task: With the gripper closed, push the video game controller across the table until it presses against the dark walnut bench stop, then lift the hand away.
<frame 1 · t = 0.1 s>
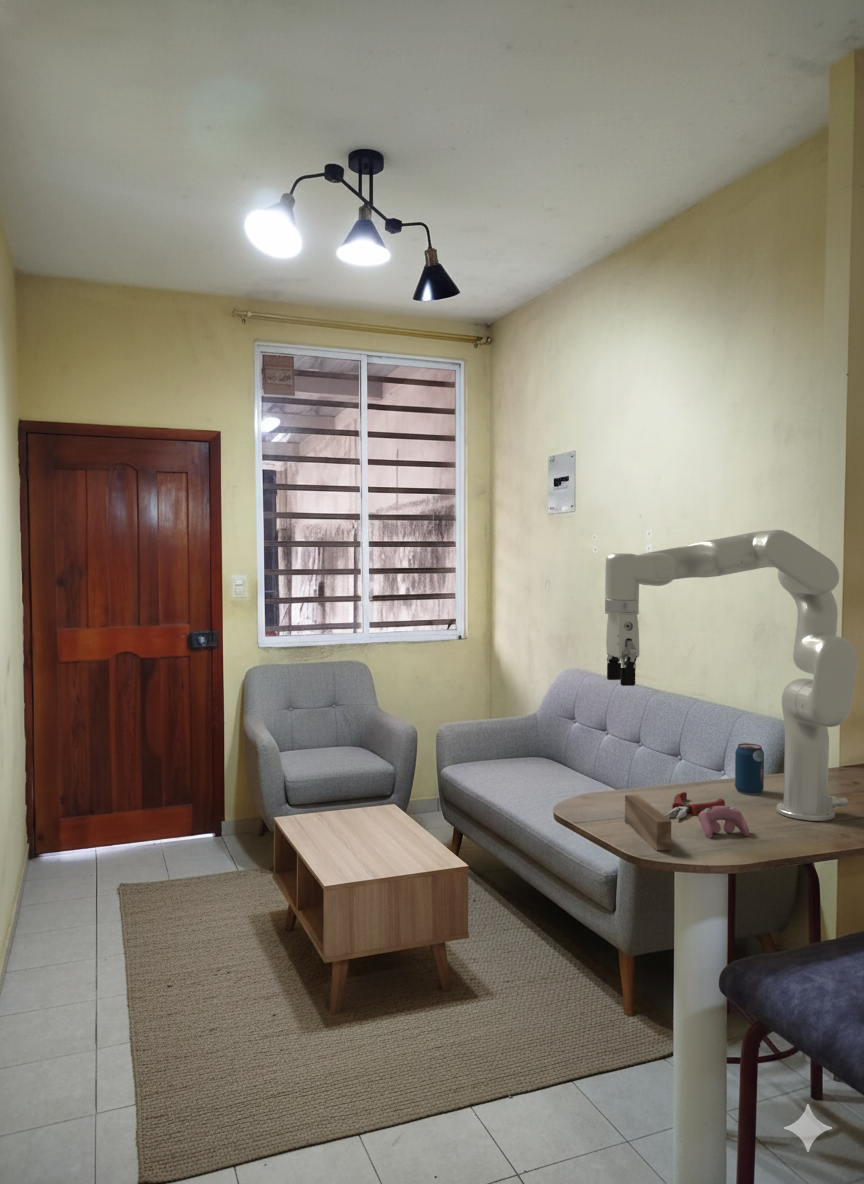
hand: (620, 682, 195), 31 cm above the table, tool pointing down, fingers open, 9 cm apart
video game controller: (723, 835, 185), on the table
soda can: (748, 792, 220), on the table
bench stop: (646, 835, 183), on the table
pliers: (683, 812, 204), on the table
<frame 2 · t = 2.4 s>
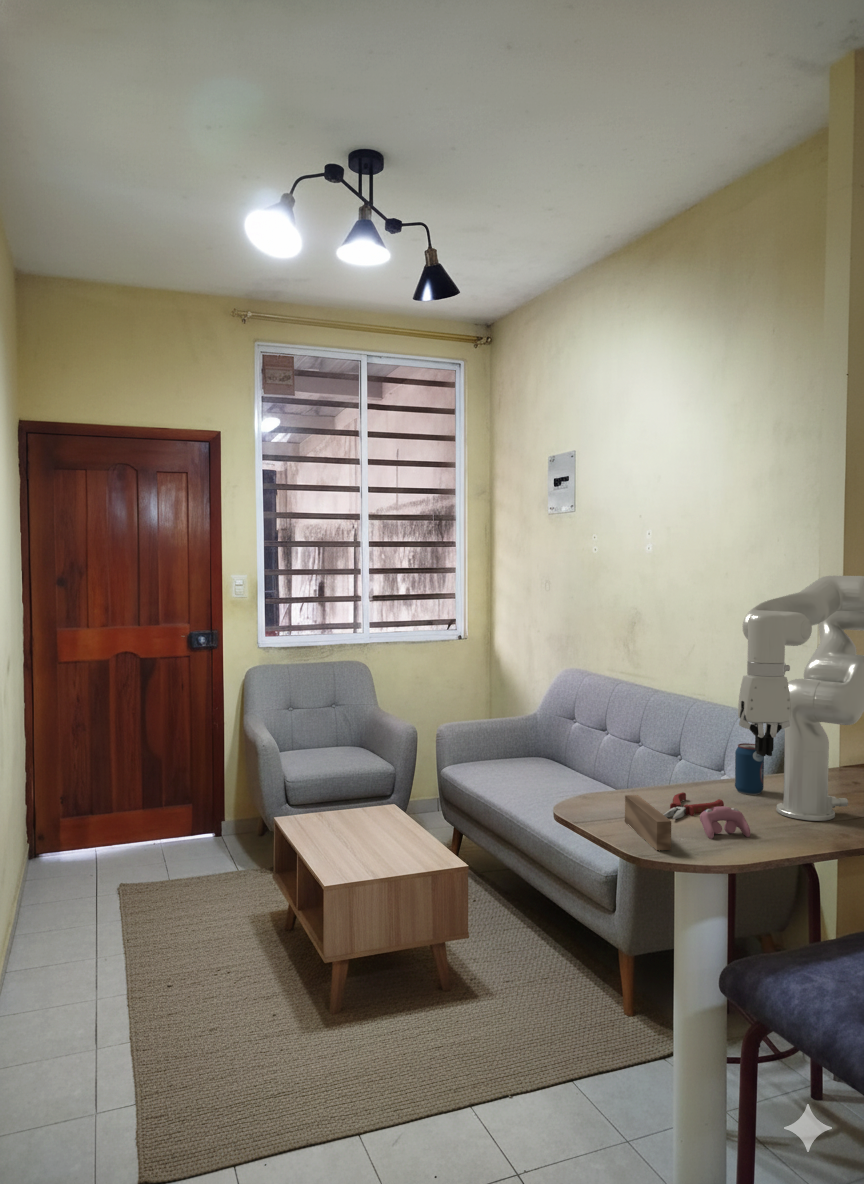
hand: (764, 754, 185), 17 cm above the table, tool pointing down, fingers closed
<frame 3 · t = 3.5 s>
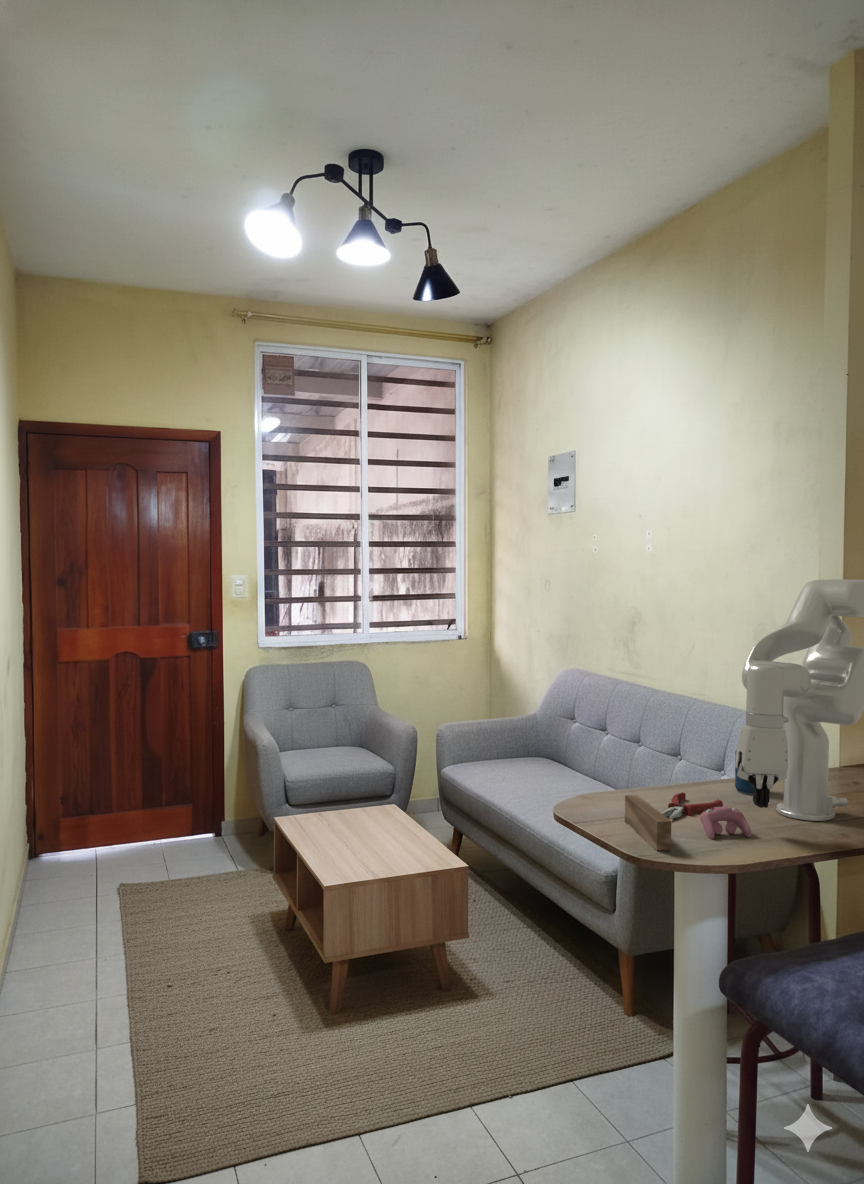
hand: (760, 805, 185), 6 cm above the table, tool pointing down, fingers closed
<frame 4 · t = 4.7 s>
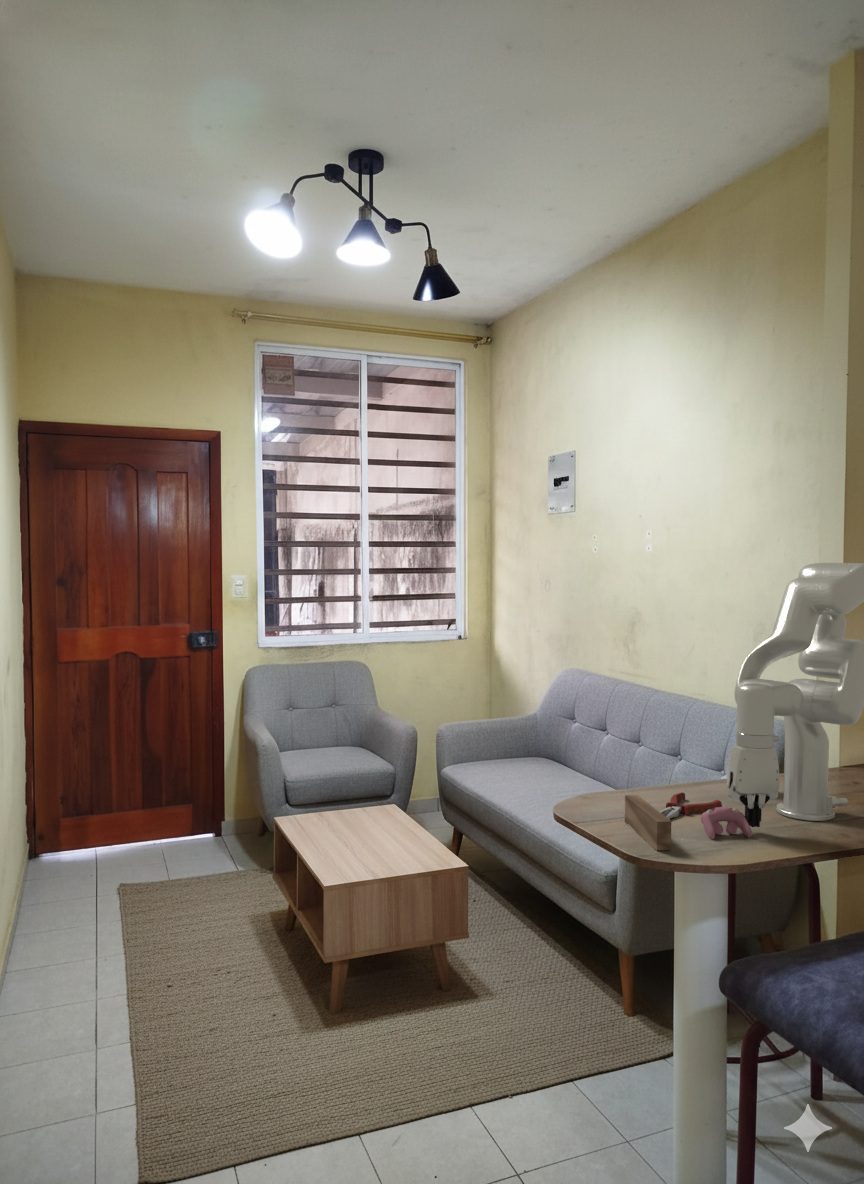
hand: (752, 825, 185), 2 cm above the table, tool pointing down, fingers closed
video game controller: (725, 836, 184), on the table, touching gripper
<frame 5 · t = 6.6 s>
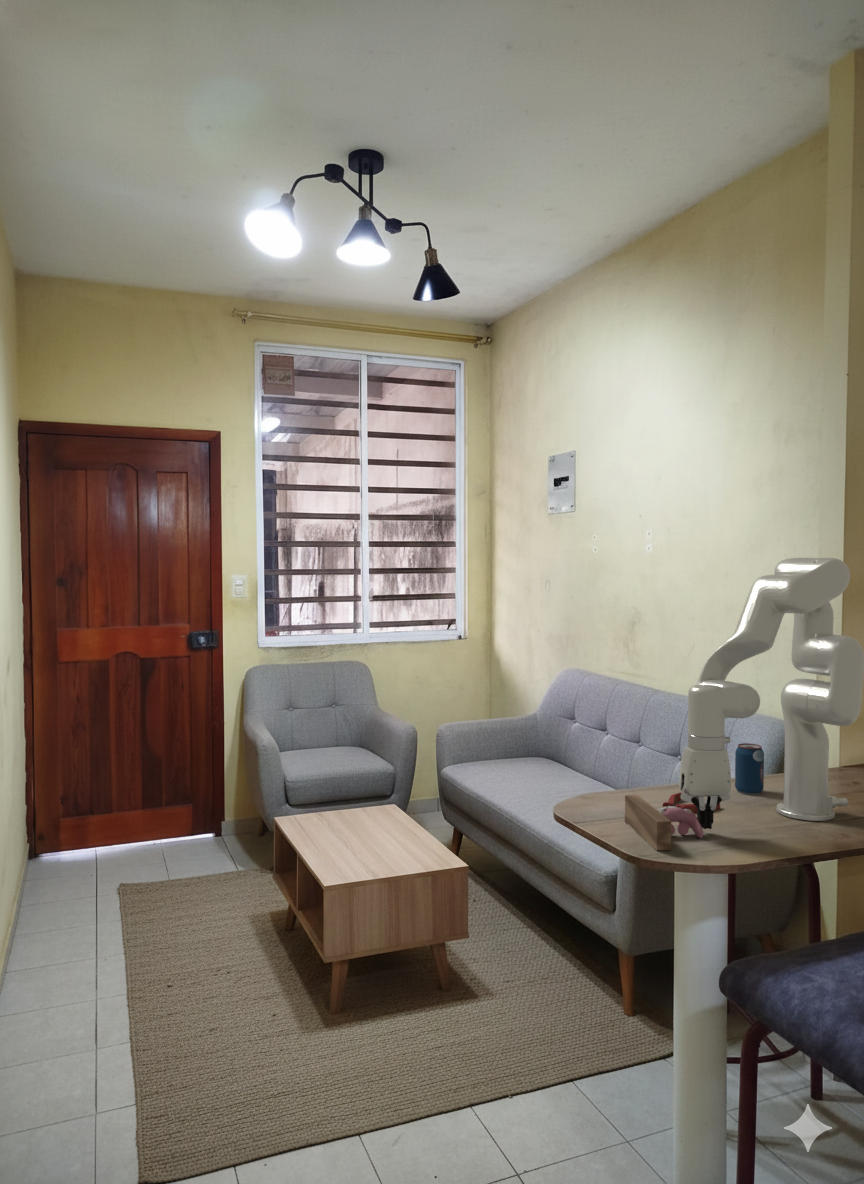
hand: (705, 826, 185), 2 cm above the table, tool pointing down, fingers closed
video game controller: (677, 837, 183), on the table, touching bench stop, gripper
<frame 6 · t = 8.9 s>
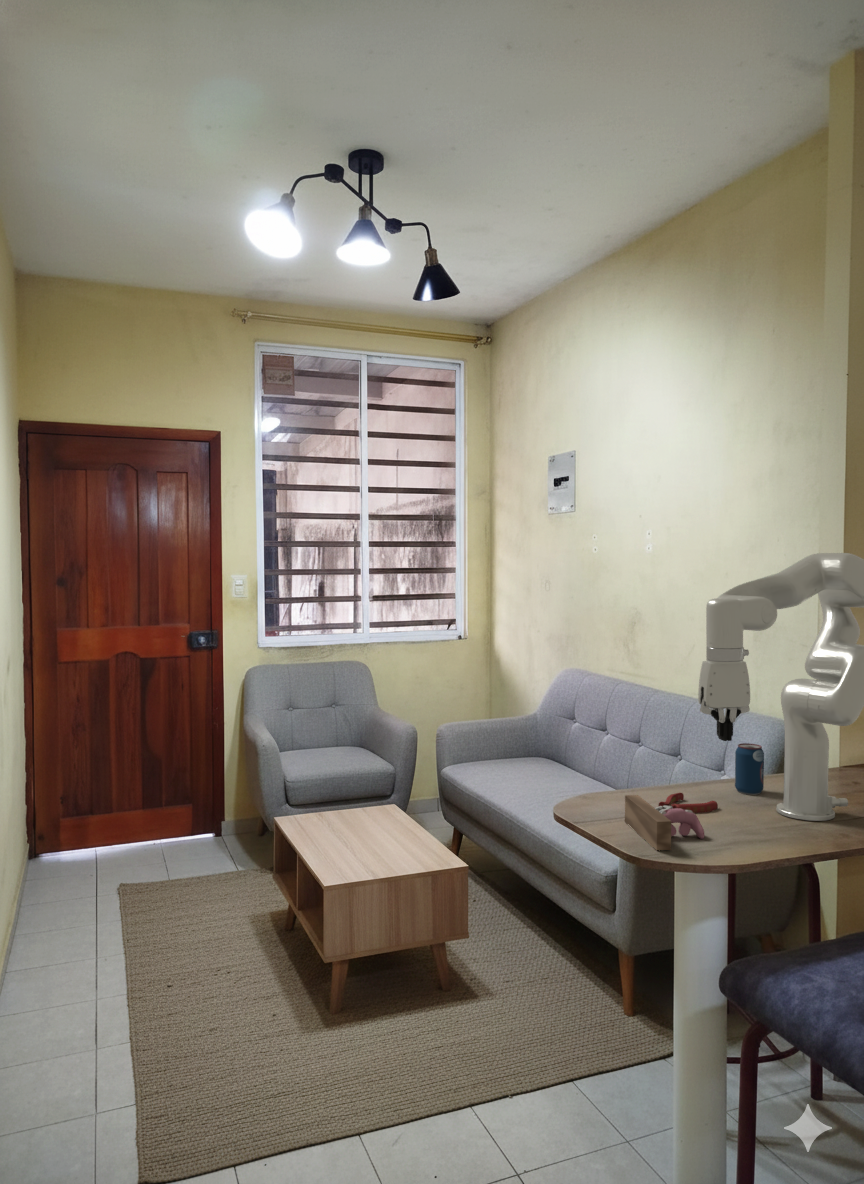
hand: (724, 739, 185), 20 cm above the table, tool pointing down, fingers closed
video game controller: (678, 838, 183), on the table
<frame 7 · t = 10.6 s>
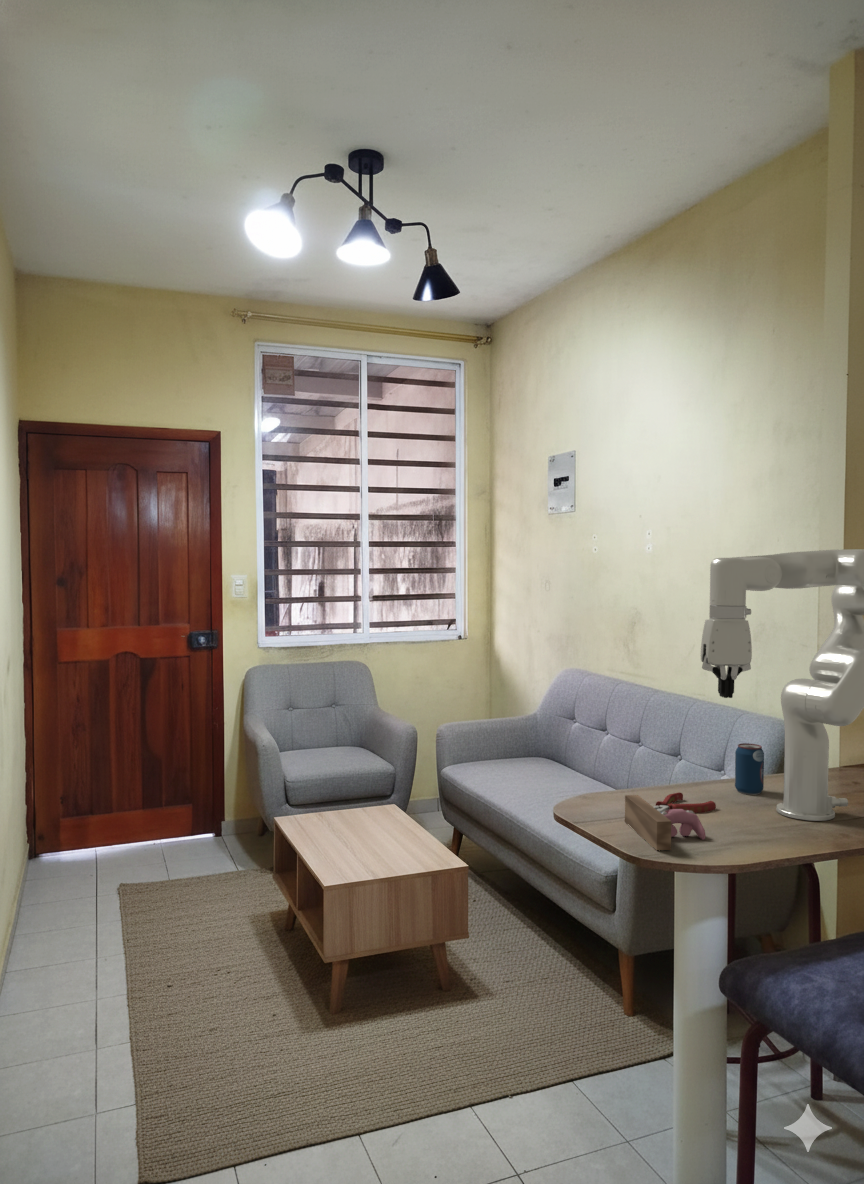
hand: (725, 696, 188), 29 cm above the table, tool pointing down, fingers closed
at the end: video game controller inside the target area on the table beside the bench stop (1.8 cm from its centre), on the table; video game controller moved 10.6 cm from its start; video game controller tilted 1° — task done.
